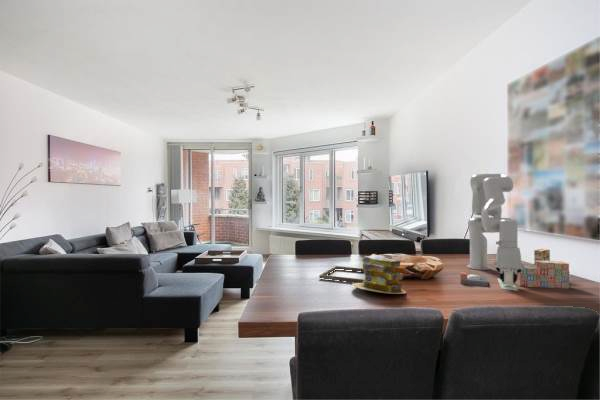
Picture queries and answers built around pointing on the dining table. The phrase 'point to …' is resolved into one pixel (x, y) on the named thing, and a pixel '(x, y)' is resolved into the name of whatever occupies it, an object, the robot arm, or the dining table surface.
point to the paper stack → (381, 275)
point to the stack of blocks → (545, 275)
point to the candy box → (542, 255)
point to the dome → (474, 277)
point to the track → (507, 286)
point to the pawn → (508, 277)
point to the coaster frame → (324, 275)
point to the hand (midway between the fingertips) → (508, 281)
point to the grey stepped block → (473, 282)
